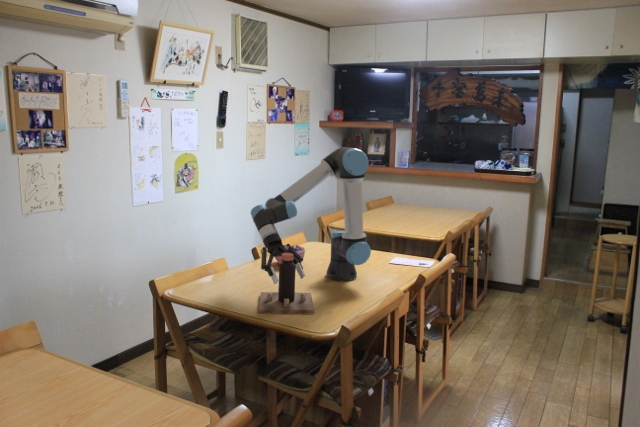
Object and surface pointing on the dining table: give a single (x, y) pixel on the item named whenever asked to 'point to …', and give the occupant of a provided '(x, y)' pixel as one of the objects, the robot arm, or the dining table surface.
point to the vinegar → (286, 278)
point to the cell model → (296, 248)
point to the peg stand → (285, 303)
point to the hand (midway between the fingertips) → (290, 279)
